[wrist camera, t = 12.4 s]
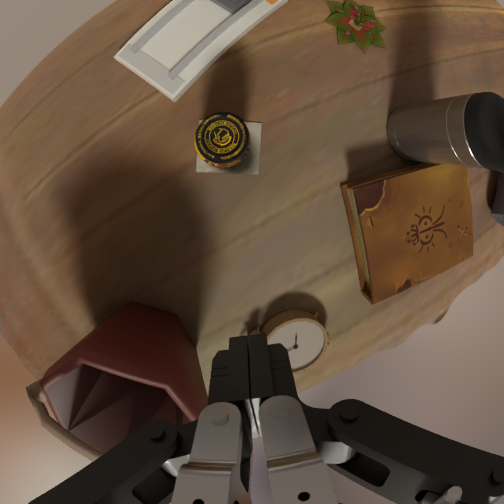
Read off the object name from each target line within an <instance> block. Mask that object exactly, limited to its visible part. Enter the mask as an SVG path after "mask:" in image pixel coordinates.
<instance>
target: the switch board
mask: <svg viewBox="0 0 504 504" xmlns="http://www.w3.org/2000/svg"><path fill="white" fill-rule="evenodd" d="M287 1H288V0H252V1H251V2H249V3H248V4H246V5H245V6H244V7H242V8H241V9H240V10H239V11H237V12H236V13H235V14H231V13H230V12H228V11H227V10H225V9H223V8H222V7H220V6H219V5H217V4H215V3H214V2H212V1H210V0H173V1H171V2H170V3H169V4H168V5H167V6H165V7H164V8H163V9H162V10H161V11H160V12H158V13H157V14H156V15H155V16H154V17H153V18H152V19H151V20H150V21H148V22H147V23H146V24H145V25H144V26H143V27H142V28H141V29H140V30H139V31H138V32H137V33H136V34H135V35H134V36H133V37H132V38H131V39H130V40H129V41H128V42H127V43H126V44H125V45H124V46H123V47H122V48H121V50H120V51H119V52H118V53H117V54H116V55H115V56H114V58H115V59H116V60H117V61H118V62H120V63H121V64H123V65H124V66H126V67H127V68H128V69H130V70H131V71H133V72H134V73H135V74H137V75H138V76H140V77H141V78H142V79H144V80H145V81H147V82H148V83H149V84H151V85H152V86H153V87H155V88H156V89H157V90H159V91H160V92H162V93H163V94H164V95H165V96H167V97H168V98H169V99H171V100H172V101H173V102H176V101H177V100H178V99H179V98H180V97H181V96H182V95H183V93H184V92H185V91H186V90H187V89H188V88H189V87H190V86H191V85H192V84H193V83H194V82H195V81H196V80H197V79H198V78H199V77H200V76H201V75H202V74H203V73H204V72H205V71H206V70H207V69H208V68H209V67H210V66H211V65H212V64H213V63H214V62H215V61H216V60H217V59H218V58H219V57H220V56H221V55H223V54H224V53H225V52H226V51H227V50H228V49H229V48H230V47H231V46H233V45H234V44H235V43H236V42H237V41H238V40H239V39H241V38H242V37H243V36H244V35H245V34H246V33H248V32H249V31H250V30H251V29H252V28H254V27H255V26H256V25H257V24H259V23H260V22H261V21H262V20H264V19H265V18H266V17H268V16H269V15H270V14H271V13H273V12H274V11H275V10H277V9H278V8H280V7H281V6H282V5H284V4H285V3H286V2H287Z"/></svg>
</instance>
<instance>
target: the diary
mask: <svg viewBox="0 0 504 504" xmlns="http://www.w3.org/2000/svg"><path fill="white" fill-rule="evenodd" d="M340 187H341V191H342V196H343V200H344V204H345V208H346V213H347V217H348V222H349V227H350V231H351V236H352V241H353V247H354V252H355V257H356V263H357V268H358V274H359V280H360V287H361V292H362V294H363V296H364V297H365V298H366V299H367V300H368V301H369V302H370V303H371V304H372V305H373V304H376V303H378V302H380V301H383V300H385V299H387V298H389V297H392V296H394V295H396V294H398V293H400V292H403V291H405V290H407V289H409V288H411V287H413V286H415V285H418V284H420V283H422V282H424V281H426V280H428V279H430V278H432V277H434V276H436V275H438V274H440V273H442V272H444V271H446V270H448V269H450V268H452V267H453V266H455V265H457V264H459V263H461V262H463V261H465V260H466V259H468V258H470V257H471V256H473V222H472V206H471V194H470V185H469V176H468V169H467V166H460V165H450V164H440V163H428V162H422V163H419V164H415V165H411V166H407V167H404V168H400V169H396V170H393V171H389V172H385V173H382V174H378V175H375V176H371V177H368V178H364V179H361V180H357V181H354V182H350V183H347V184H343V185H340Z"/></svg>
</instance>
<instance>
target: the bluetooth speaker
mask: <svg viewBox="0 0 504 504" xmlns="http://www.w3.org/2000/svg"><path fill="white" fill-rule="evenodd" d="M496 190H497V191H496V196H495V200H494V204H493V208H492V213H491V216H492V217H493V218H494V219H495V220H496V221H497V222H498V223H499V224H501V225H502V226H504V173H502V172H499V175H498V179H497V183H496Z"/></svg>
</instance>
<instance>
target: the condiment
mask: <svg viewBox="0 0 504 504" xmlns="http://www.w3.org/2000/svg"><path fill="white" fill-rule="evenodd" d="M261 125H262V123H255V122H244V121H243V120H242V119H241V118H239V117H238V116H236V115H234V114H231V113H229V112H219V113H215V114H211V115H210V116H208V117H206V118H205V119H204V120H199V126H198V128H197V130H196V133H195V137H194V145H195V150H196V152H197V167H196V172H216V173H239V174H256V175H258V172H259V155H260V140H261Z"/></svg>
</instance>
